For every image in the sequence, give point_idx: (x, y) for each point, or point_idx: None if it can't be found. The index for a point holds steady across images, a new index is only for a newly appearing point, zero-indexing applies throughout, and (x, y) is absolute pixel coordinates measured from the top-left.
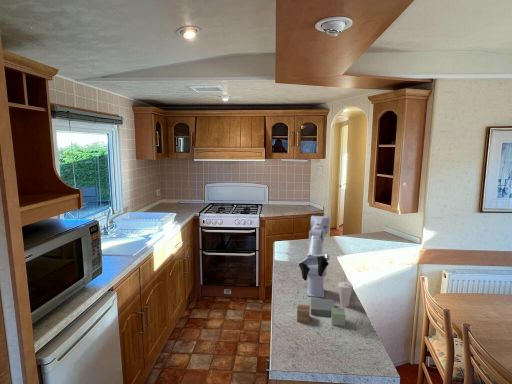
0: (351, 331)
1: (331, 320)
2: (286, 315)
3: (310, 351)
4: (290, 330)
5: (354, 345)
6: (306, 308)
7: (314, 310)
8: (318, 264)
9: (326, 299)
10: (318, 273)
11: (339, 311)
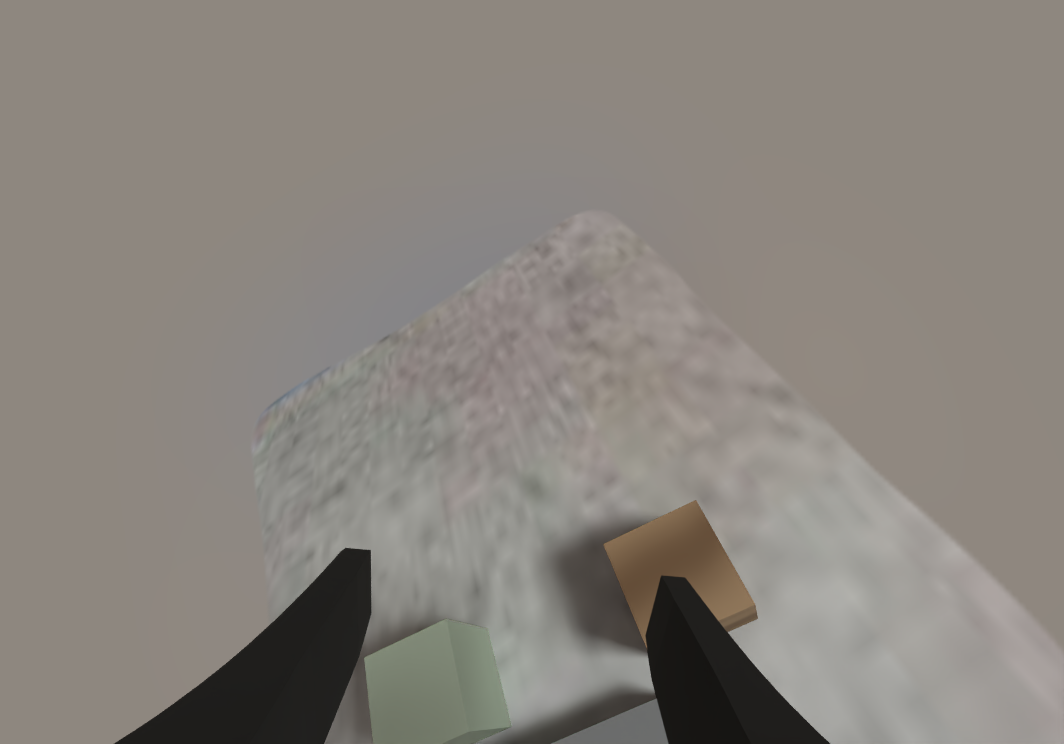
0: (375, 621)
1: (500, 685)
2: (830, 556)
3: (519, 344)
4: (681, 412)
5: (360, 501)
6: (646, 576)
7: (634, 708)
8: (269, 690)
9: None
10: (355, 551)
11: (403, 687)
